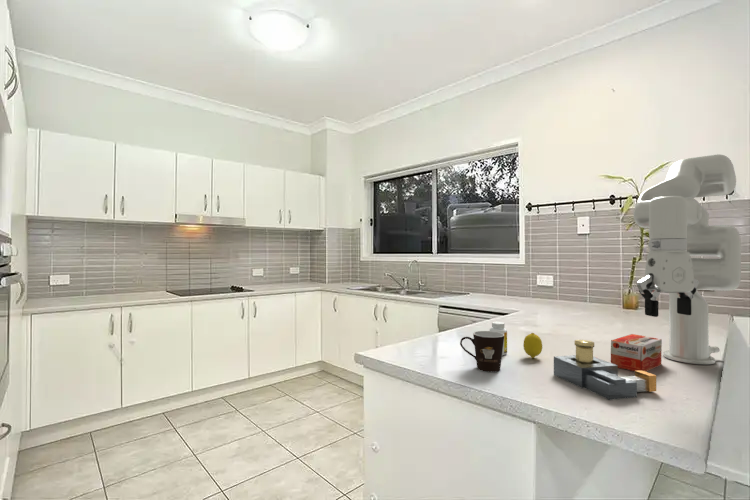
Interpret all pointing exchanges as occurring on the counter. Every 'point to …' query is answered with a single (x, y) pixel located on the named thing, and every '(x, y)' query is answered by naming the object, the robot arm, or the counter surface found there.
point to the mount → (595, 377)
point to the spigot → (584, 351)
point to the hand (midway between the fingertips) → (667, 315)
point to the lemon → (532, 345)
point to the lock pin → (643, 381)
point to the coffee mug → (487, 350)
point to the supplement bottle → (501, 329)
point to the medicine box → (636, 352)
